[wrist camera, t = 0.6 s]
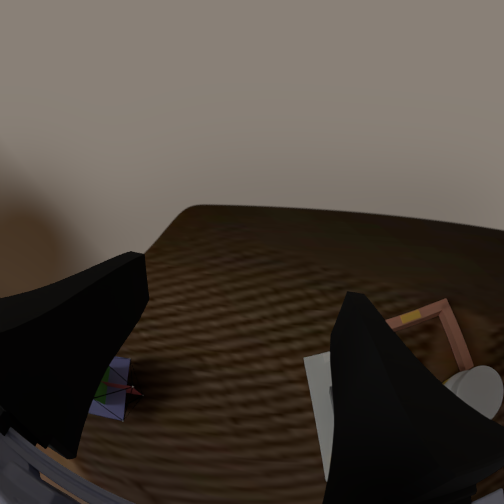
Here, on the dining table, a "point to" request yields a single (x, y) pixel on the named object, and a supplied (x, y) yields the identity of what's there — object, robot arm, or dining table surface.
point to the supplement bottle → (478, 389)
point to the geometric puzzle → (114, 391)
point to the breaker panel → (321, 402)
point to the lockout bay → (448, 323)
